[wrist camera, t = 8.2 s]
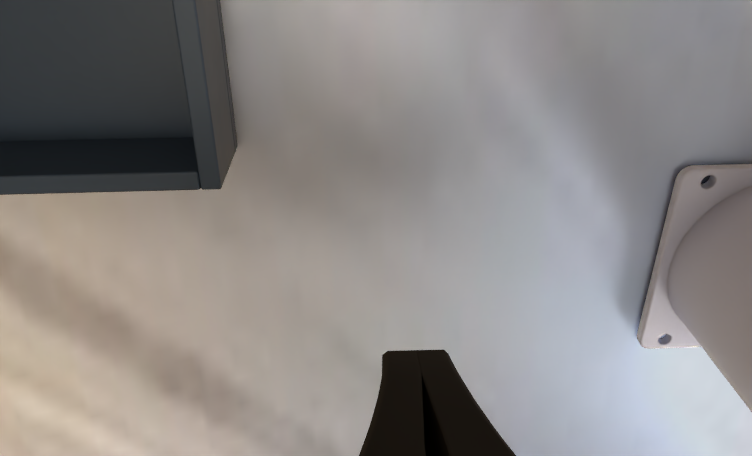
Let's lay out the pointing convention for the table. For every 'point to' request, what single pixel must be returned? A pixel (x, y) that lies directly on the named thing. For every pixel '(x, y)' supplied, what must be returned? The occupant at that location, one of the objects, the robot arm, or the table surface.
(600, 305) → the table surface
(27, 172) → the tray
